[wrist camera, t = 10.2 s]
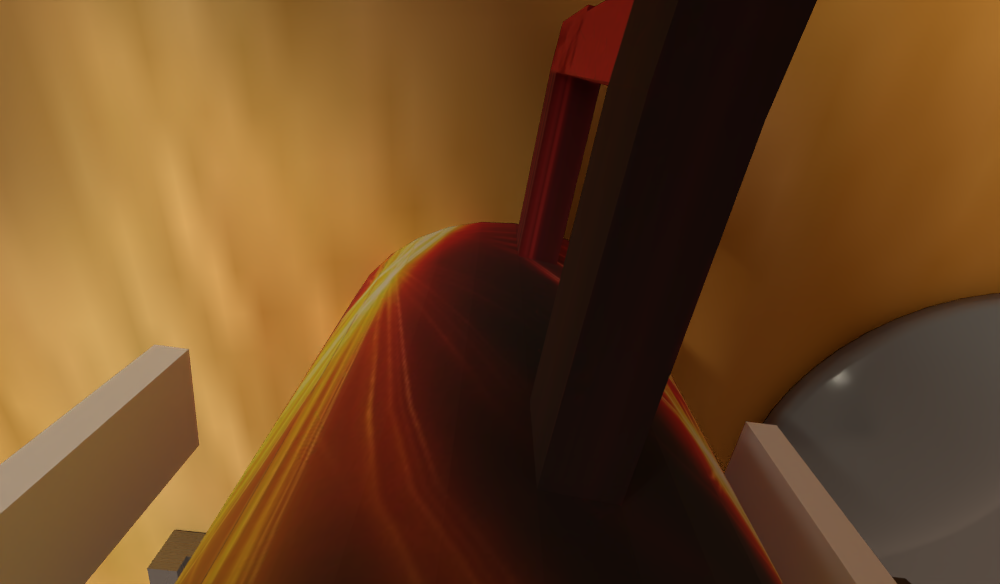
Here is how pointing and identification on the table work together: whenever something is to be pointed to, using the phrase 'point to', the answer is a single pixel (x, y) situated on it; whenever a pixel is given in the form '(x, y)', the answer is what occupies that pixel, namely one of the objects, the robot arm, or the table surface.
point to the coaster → (911, 439)
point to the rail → (173, 557)
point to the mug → (537, 348)
